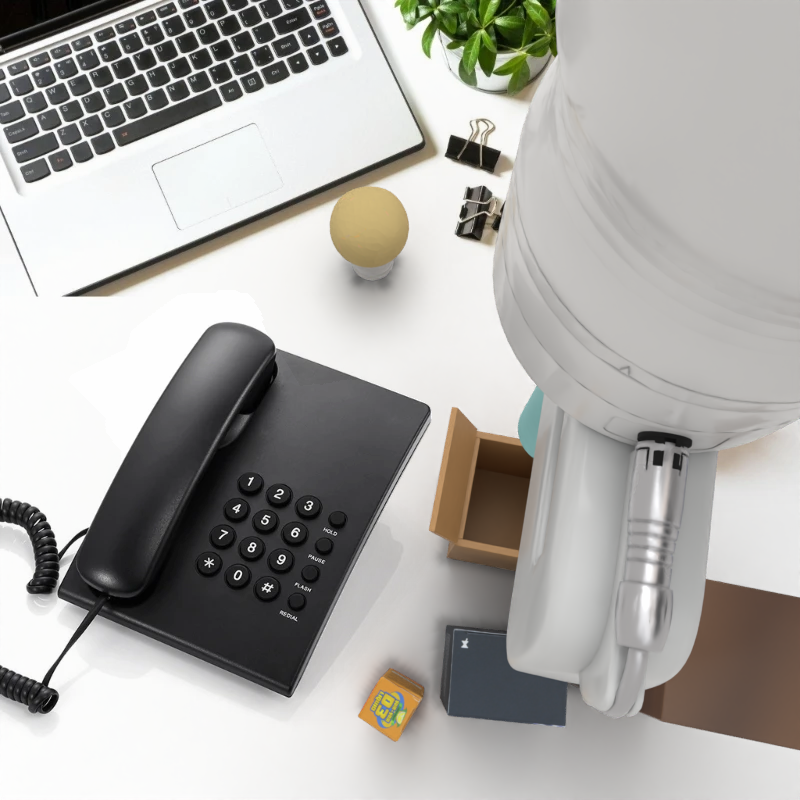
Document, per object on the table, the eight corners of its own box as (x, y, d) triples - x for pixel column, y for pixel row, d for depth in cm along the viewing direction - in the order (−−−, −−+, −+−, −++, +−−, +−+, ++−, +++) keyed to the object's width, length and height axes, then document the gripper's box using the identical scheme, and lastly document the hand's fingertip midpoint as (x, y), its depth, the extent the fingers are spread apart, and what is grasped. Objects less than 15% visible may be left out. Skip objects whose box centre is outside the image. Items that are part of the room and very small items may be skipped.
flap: (457, 543, 53) (451, 542, 53) (477, 428, 55) (472, 428, 55) (434, 531, 48) (428, 530, 49) (457, 407, 50) (451, 406, 51)
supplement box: (387, 663, 62) (383, 671, 53) (425, 687, 62) (428, 700, 52) (364, 702, 62) (356, 717, 52) (403, 727, 61) (402, 747, 52)
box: (439, 700, 62) (445, 716, 51) (445, 624, 63) (452, 625, 53) (541, 710, 61) (568, 729, 51) (545, 634, 63) (571, 637, 53)
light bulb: (334, 234, 72) (323, 175, 62) (405, 228, 72) (404, 167, 63) (339, 300, 70) (328, 250, 61) (412, 293, 71) (412, 242, 61)
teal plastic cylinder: (594, 402, 36) (662, 323, 26) (584, 472, 35) (651, 416, 25) (523, 389, 36) (565, 305, 26) (512, 458, 35) (551, 397, 26)
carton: (446, 557, 64) (454, 544, 53) (463, 461, 67) (475, 427, 55) (570, 582, 64) (606, 574, 52) (583, 484, 66) (622, 455, 54)
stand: (663, 607, 63) (820, 601, 39) (653, 700, 62) (811, 753, 37) (575, 590, 64) (676, 572, 40) (562, 681, 62) (660, 721, 38)
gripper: (801, 764, 15) (619, 697, 29) (854, -79, 21) (679, 194, 34) (478, 696, 16) (446, 660, 29) (610, -115, 21) (532, 169, 34)
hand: (572, 406), depth 32 cm, fingers closed on teal plastic cylinder, 3 cm apart
